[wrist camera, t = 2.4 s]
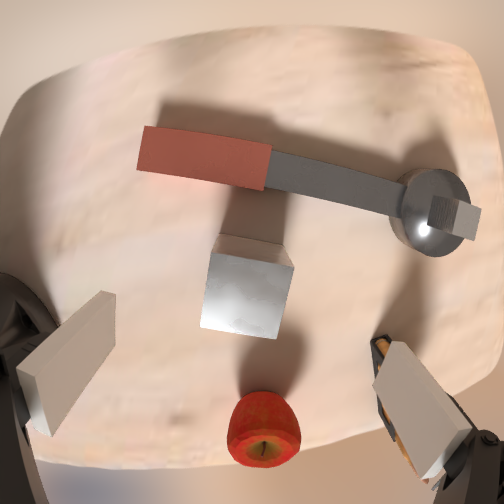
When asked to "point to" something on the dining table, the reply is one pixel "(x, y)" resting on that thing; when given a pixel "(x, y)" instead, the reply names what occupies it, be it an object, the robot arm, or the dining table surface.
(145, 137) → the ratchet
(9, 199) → the dining table surface
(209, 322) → the brushed steel cube
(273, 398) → the apple
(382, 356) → the ammunition clip
